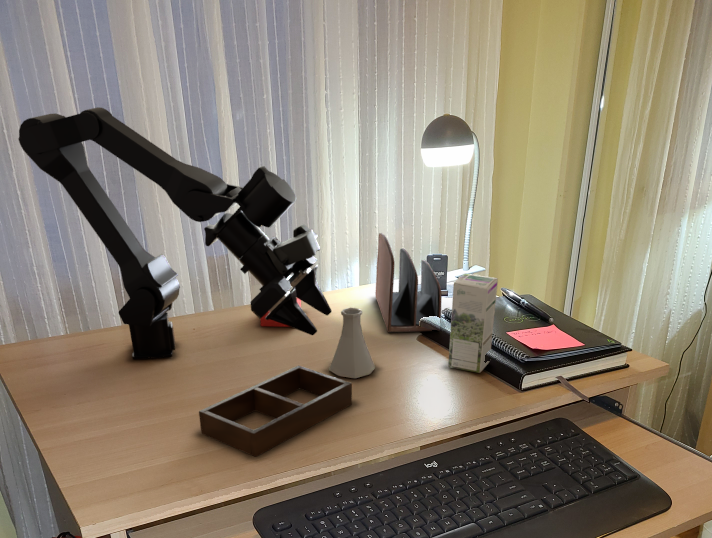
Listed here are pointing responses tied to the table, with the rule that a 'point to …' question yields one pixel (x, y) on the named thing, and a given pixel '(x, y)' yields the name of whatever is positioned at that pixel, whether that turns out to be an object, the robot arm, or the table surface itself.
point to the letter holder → (405, 291)
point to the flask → (352, 348)
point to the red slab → (274, 323)
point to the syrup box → (472, 321)
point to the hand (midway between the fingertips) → (322, 323)
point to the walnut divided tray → (275, 409)
